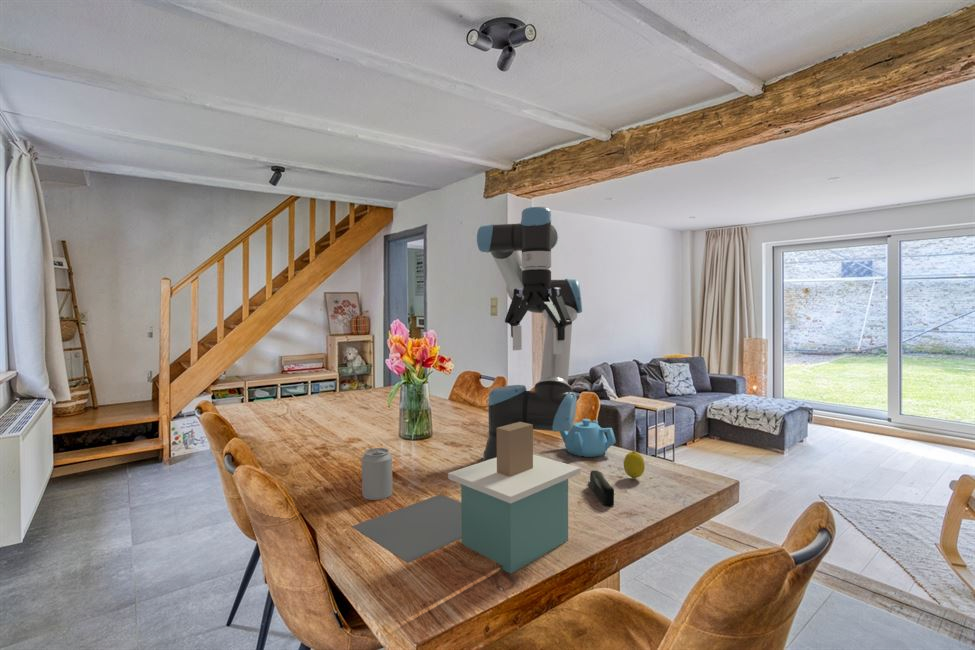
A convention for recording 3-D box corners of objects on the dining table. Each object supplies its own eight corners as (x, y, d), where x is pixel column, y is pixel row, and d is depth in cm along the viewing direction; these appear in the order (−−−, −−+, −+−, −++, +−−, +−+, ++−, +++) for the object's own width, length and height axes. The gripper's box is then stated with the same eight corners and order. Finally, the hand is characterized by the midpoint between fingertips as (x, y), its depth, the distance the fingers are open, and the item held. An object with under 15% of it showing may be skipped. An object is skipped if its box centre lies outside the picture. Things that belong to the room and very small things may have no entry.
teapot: (573, 461, 149) (573, 426, 149) (555, 447, 164) (555, 416, 164) (618, 457, 153) (618, 423, 152) (596, 443, 168) (596, 413, 167)
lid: (448, 478, 96) (447, 428, 95) (518, 455, 110) (518, 411, 110) (510, 503, 84) (510, 445, 83) (580, 473, 98) (580, 424, 98)
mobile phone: (616, 488, 115) (596, 465, 130) (604, 488, 115) (585, 466, 130) (616, 508, 115) (596, 483, 130) (603, 508, 115) (585, 484, 130)
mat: (351, 529, 104) (351, 526, 104) (441, 497, 122) (441, 493, 122) (407, 566, 89) (407, 562, 89) (500, 523, 107) (500, 519, 107)
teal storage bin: (461, 547, 96) (461, 478, 96) (519, 520, 108) (519, 458, 108) (510, 573, 87) (510, 497, 86) (568, 540, 99) (568, 473, 98)
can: (366, 505, 117) (365, 457, 116) (359, 495, 124) (358, 449, 123) (396, 499, 120) (395, 452, 120) (387, 489, 127) (387, 444, 126)
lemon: (645, 483, 130) (645, 454, 130) (624, 482, 131) (624, 453, 131) (643, 476, 135) (643, 448, 135) (622, 475, 137) (623, 447, 136)
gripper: (491, 271, 129) (492, 349, 130) (567, 265, 111) (567, 356, 112) (510, 272, 134) (511, 347, 135) (586, 267, 117) (585, 354, 118)
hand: (536, 351), depth 124 cm, fingers open, 13 cm apart
